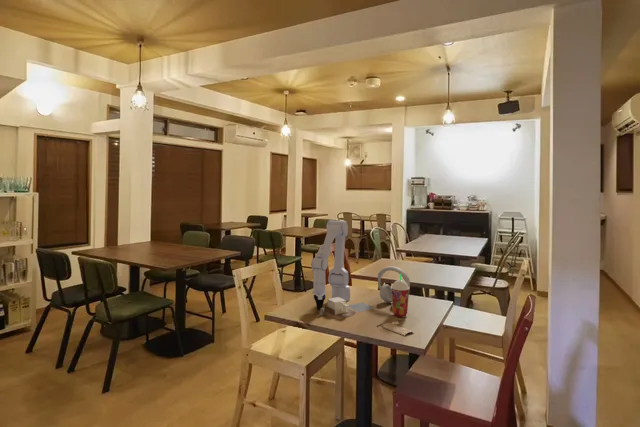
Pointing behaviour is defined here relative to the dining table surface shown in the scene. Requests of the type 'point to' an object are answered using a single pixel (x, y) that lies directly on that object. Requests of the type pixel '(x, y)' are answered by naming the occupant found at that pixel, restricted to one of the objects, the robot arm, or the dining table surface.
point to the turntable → (331, 313)
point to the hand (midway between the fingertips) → (319, 310)
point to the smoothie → (400, 298)
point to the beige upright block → (338, 305)
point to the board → (361, 307)
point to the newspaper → (395, 328)
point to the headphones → (386, 289)
